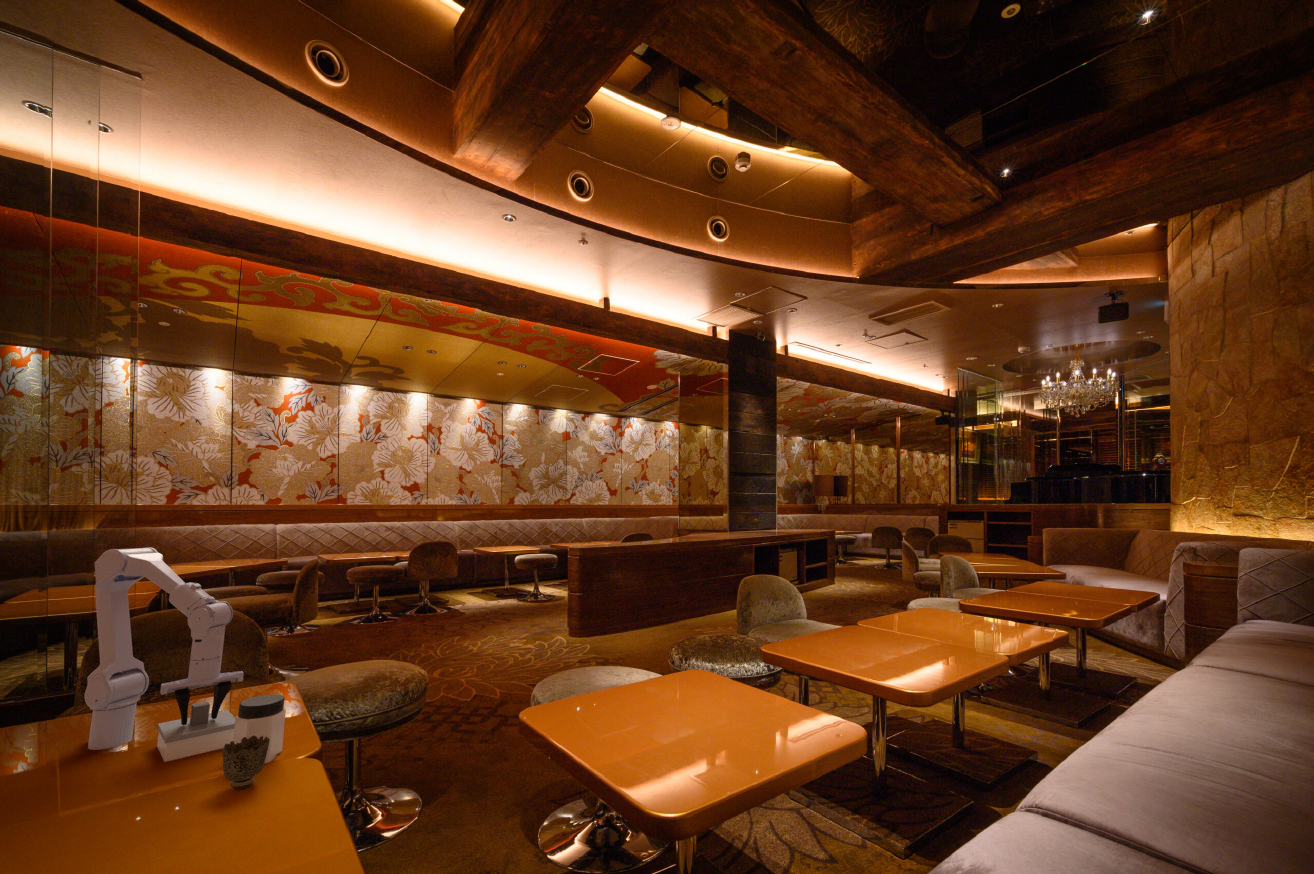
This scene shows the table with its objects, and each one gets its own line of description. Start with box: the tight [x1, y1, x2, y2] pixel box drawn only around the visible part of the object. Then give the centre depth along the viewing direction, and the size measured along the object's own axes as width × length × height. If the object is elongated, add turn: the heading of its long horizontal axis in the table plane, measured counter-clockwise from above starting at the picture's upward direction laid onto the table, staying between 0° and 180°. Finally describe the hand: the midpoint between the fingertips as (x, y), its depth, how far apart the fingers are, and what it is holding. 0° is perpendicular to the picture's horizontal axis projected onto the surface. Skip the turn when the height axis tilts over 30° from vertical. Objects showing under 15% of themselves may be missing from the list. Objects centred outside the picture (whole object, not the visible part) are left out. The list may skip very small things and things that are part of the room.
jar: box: [233, 694, 287, 765], centre depth 121 cm, size 9×8×12 cm
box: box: [156, 729, 234, 763], centre depth 125 cm, size 12×12×4 cm
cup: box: [222, 735, 270, 791], centre depth 108 cm, size 8×7×8 cm
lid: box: [157, 701, 236, 744], centre depth 126 cm, size 13×13×5 cm
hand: (199, 720), depth 126 cm, fingers open, 5 cm apart
